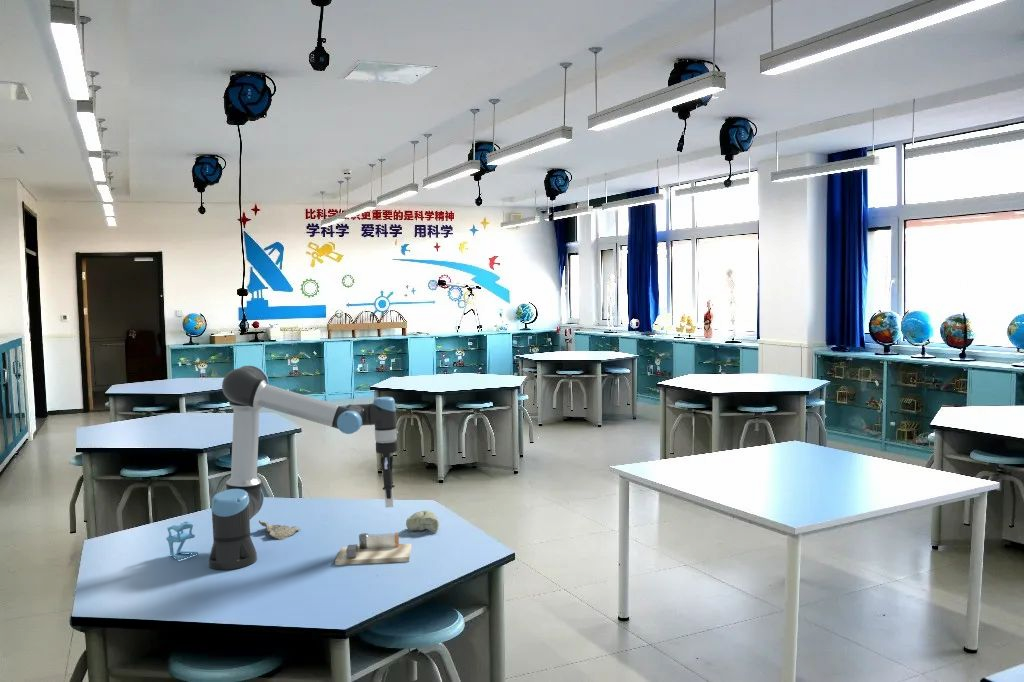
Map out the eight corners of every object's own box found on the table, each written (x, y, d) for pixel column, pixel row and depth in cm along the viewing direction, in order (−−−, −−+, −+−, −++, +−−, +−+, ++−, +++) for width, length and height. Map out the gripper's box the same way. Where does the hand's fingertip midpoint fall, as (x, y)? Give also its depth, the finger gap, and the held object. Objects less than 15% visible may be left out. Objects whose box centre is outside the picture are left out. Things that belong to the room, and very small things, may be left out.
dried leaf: (292, 541, 278) (292, 527, 278) (249, 542, 278) (248, 529, 278) (305, 526, 296) (305, 513, 296) (264, 527, 296) (263, 514, 296)
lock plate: (335, 565, 250) (335, 560, 250) (341, 551, 264) (341, 546, 264) (409, 561, 252) (408, 557, 252) (411, 547, 266) (411, 543, 266)
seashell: (402, 514, 281) (412, 503, 291) (402, 534, 283) (412, 523, 292) (435, 519, 278) (444, 508, 288) (435, 539, 280) (444, 527, 290)
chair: (183, 551, 269) (181, 517, 268) (199, 554, 265) (197, 520, 264) (163, 558, 262) (162, 523, 262) (179, 561, 258) (177, 526, 257)
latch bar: (358, 549, 261) (358, 536, 261) (360, 546, 264) (359, 533, 264) (398, 547, 262) (397, 534, 262) (399, 544, 265) (398, 531, 265)
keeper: (346, 558, 252) (346, 549, 252) (348, 553, 257) (348, 544, 257) (355, 558, 252) (355, 549, 252) (357, 553, 257) (357, 544, 257)
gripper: (395, 443, 264) (398, 511, 265) (398, 437, 277) (401, 501, 278) (373, 445, 263) (377, 512, 264) (377, 438, 276) (380, 502, 277)
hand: (389, 506), depth 271 cm, fingers closed
